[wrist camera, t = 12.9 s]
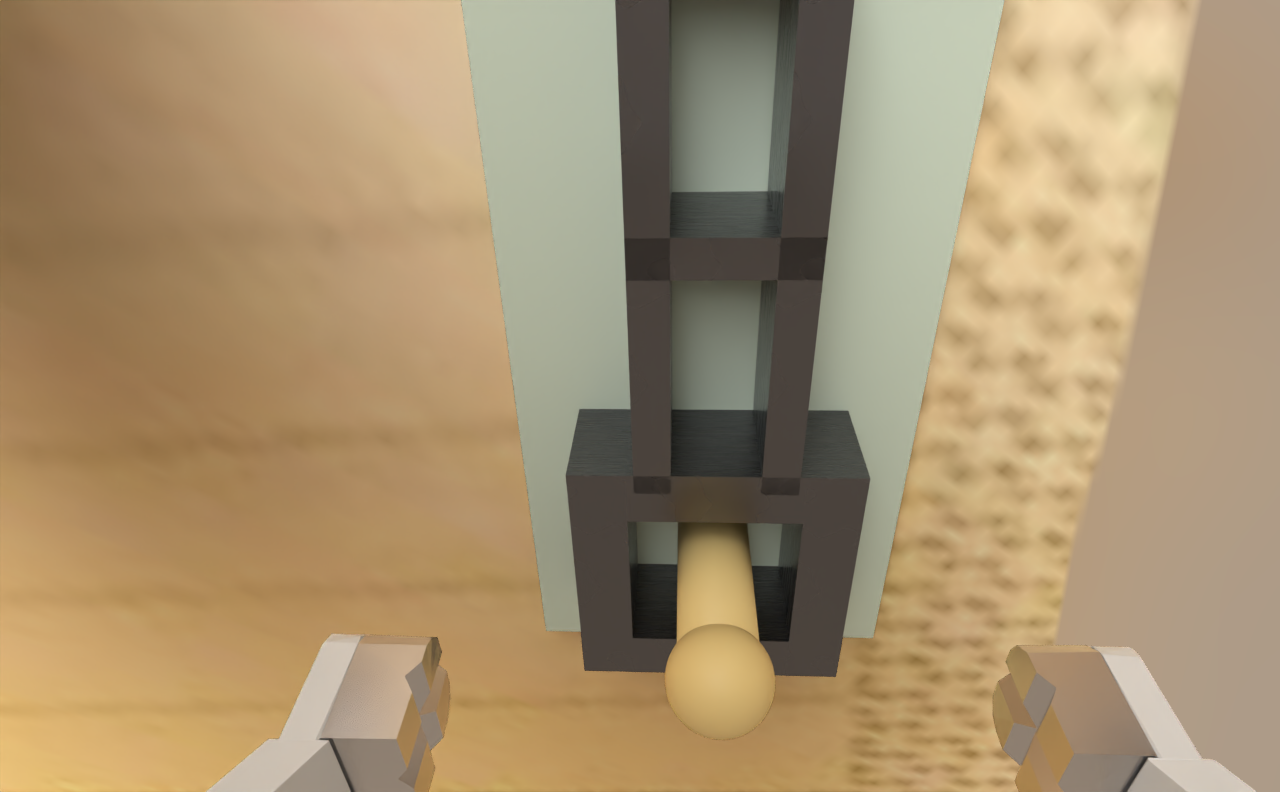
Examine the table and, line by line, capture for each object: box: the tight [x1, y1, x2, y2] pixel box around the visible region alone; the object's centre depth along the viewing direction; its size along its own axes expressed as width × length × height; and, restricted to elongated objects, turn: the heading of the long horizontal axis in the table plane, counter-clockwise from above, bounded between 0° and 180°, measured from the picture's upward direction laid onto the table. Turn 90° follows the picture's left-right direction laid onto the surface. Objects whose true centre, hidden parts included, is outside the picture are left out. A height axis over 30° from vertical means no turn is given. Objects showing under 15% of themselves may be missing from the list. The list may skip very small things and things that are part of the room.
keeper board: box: [461, 0, 1004, 740], centre depth 19 cm, size 23×12×9 cm, turn 1°
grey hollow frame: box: [566, 0, 870, 677], centre depth 20 cm, size 21×8×3 cm, turn 1°
